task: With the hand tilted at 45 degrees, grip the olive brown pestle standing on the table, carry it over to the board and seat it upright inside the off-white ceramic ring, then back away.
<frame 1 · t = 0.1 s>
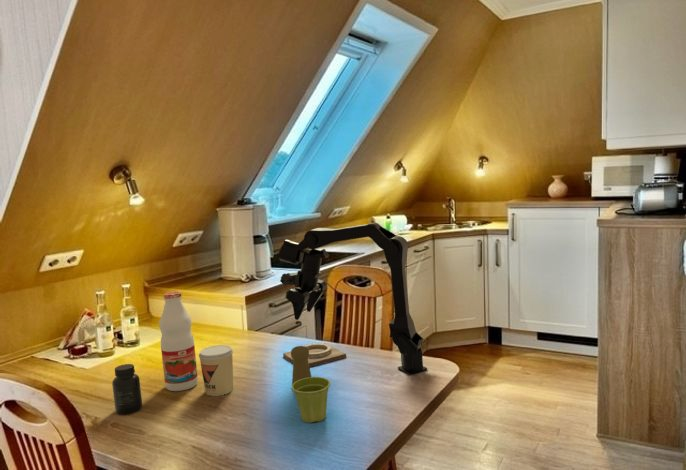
hand: (302, 315, 173), 15 cm above the table, tool pointing down, fingers open, 9 cm apart
fruit juice: (182, 386, 163), on the table
olive brown pestle: (302, 384, 158), on the table
white canister: (219, 391, 157), on the table
supplement bottle: (129, 410, 148), on the table
ring board: (315, 355, 181), on the table
plant pot: (313, 418, 136), on the table
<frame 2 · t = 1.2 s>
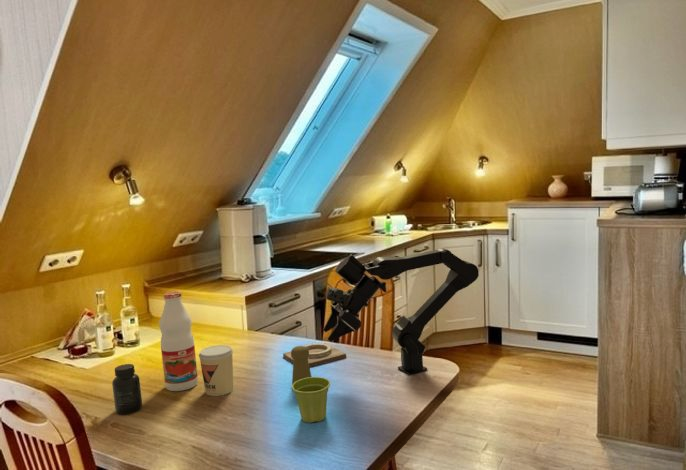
hand: (326, 335, 158), 13 cm above the table, tool tilted 45°, fingers open, 9 cm apart
nothing on the table moved.
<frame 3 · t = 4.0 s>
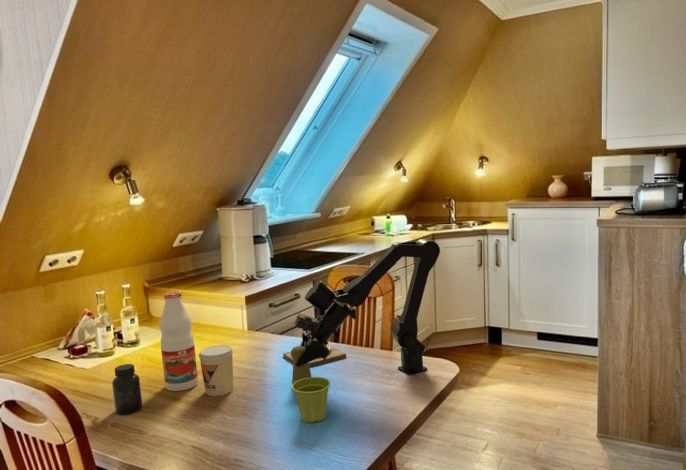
hand: (295, 362, 157), 7 cm above the table, tool tilted 45°, fingers closed on olive brown pestle, 5 cm apart
olive brown pestle: (302, 384, 158), on the table, touching gripper
everything else where it was.
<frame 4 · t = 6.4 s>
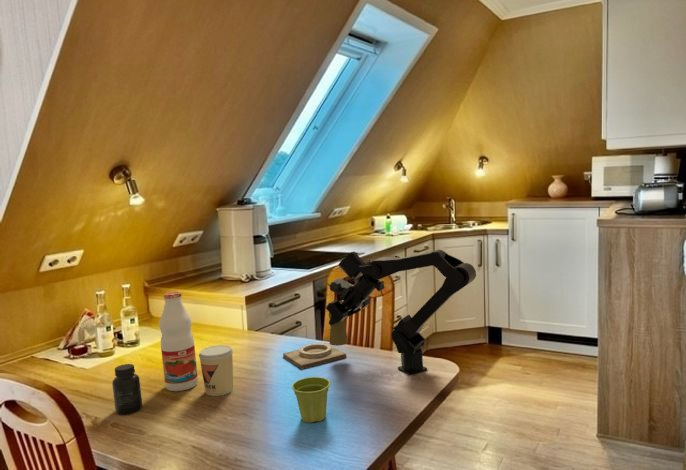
hand: (333, 322, 175), 12 cm above the table, tool tilted 45°, fingers closed on olive brown pestle, 5 cm apart
olive brown pestle: (338, 343, 175), point 5 cm above the table, touching gripper
everything else where it was.
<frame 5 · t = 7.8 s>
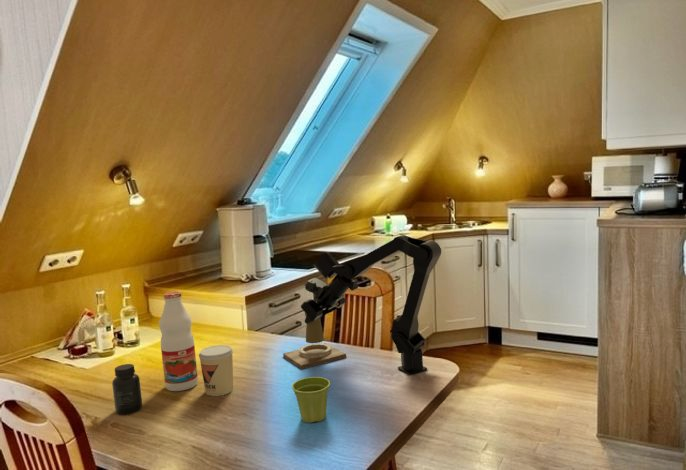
hand: (310, 320, 180), 12 cm above the table, tool tilted 45°, fingers closed on olive brown pestle, 5 cm apart
olive brown pestle: (314, 341, 180), point 5 cm above the table, touching gripper
everything else where it was.
when the fingers open (9 cm above the table, at t = 8.9 s): olive brown pestle stays where it is, resting on ring board.
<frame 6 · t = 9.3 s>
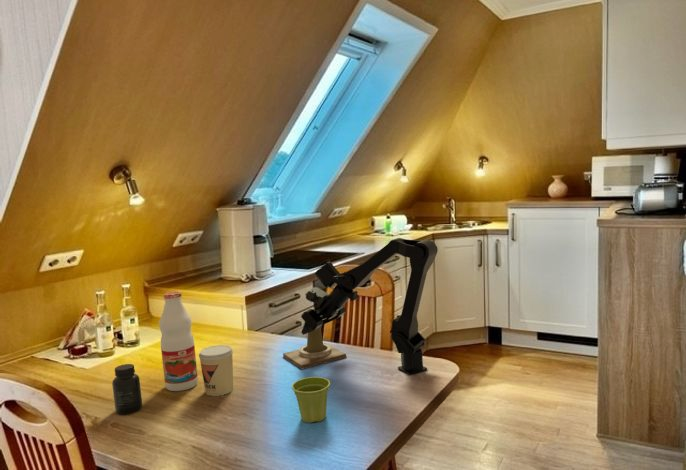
hand: (310, 329, 181), 9 cm above the table, tool tilted 45°, fingers open, 9 cm apart
olive brown pestle: (315, 352, 181), point 1 cm above the table, touching ring board
everything else where it was.
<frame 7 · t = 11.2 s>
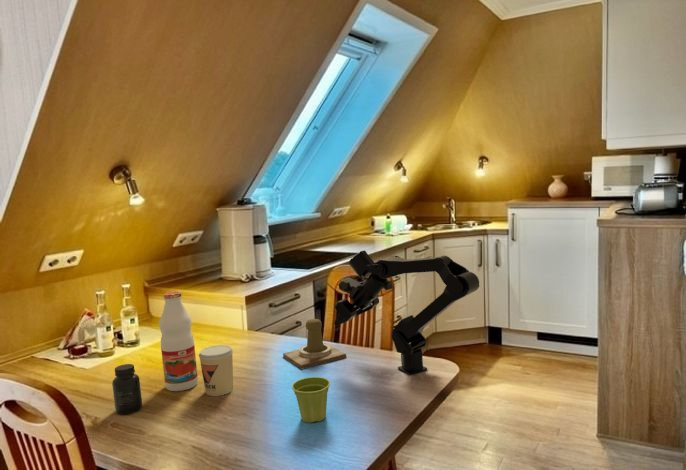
hand: (343, 320, 176), 12 cm above the table, tool tilted 45°, fingers open, 9 cm apart
nothing on the table moved.
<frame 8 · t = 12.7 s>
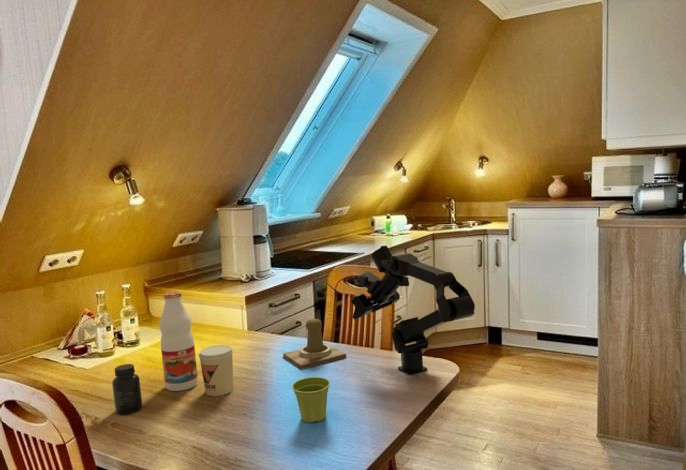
hand: (362, 314, 176), 14 cm above the table, tool tilted 45°, fingers open, 9 cm apart
nothing on the table moved.
at the end: olive brown pestle 0.2 cm from the ring board (horizontally); olive brown pestle tilted 0°; the gripper is holding nothing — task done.
